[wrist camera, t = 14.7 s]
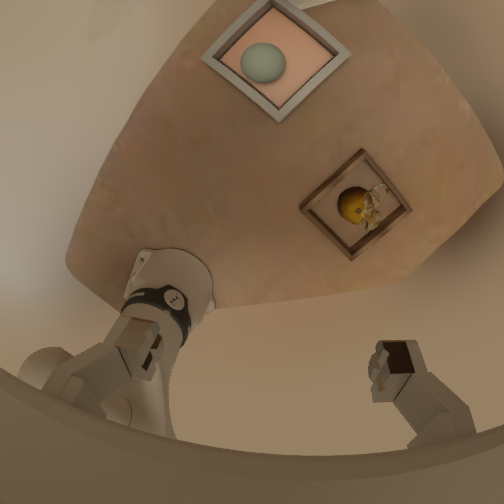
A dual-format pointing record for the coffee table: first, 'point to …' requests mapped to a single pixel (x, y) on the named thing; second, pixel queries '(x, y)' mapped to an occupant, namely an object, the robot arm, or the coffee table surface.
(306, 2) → the heart sculpture
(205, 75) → the coffee table surface
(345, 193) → the fruit
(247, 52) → the ball
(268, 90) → the grey square tray
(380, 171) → the fruit tray
